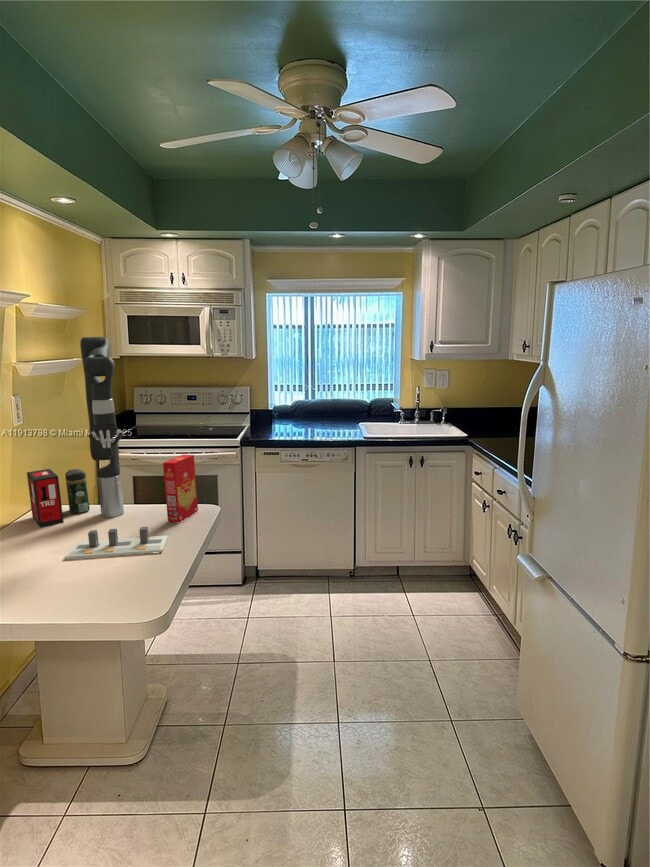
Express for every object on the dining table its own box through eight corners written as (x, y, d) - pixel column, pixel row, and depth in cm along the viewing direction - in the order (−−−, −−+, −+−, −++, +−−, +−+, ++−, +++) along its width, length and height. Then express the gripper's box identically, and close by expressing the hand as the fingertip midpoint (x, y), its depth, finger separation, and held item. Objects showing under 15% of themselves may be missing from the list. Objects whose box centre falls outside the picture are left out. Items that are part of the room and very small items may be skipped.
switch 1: (91, 543, 207) (90, 530, 206) (98, 543, 207) (97, 530, 206) (89, 546, 204) (87, 533, 203) (96, 546, 204) (94, 533, 203)
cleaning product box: (63, 522, 236) (57, 476, 232) (40, 527, 231) (34, 479, 227) (55, 513, 249) (49, 468, 245) (32, 517, 244) (26, 472, 240)
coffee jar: (67, 510, 253) (62, 469, 249) (86, 506, 257) (82, 466, 254) (72, 515, 245) (67, 473, 241) (91, 511, 249) (87, 470, 246)
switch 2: (142, 540, 209) (140, 527, 208) (148, 539, 209) (147, 526, 208) (140, 543, 206) (139, 529, 205) (147, 542, 206) (146, 529, 205)
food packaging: (179, 523, 231) (174, 463, 226) (167, 522, 233) (162, 462, 228) (198, 511, 245) (193, 455, 240) (187, 510, 246) (183, 454, 242)
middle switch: (111, 542, 208) (110, 529, 207) (118, 541, 208) (116, 528, 207) (109, 545, 205) (107, 532, 204) (116, 544, 205) (114, 531, 204)
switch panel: (77, 545, 210) (76, 540, 210) (168, 538, 214) (168, 534, 214) (65, 560, 197) (64, 555, 196) (162, 552, 200) (162, 548, 200)
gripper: (124, 409, 214) (129, 454, 217) (88, 410, 213) (93, 456, 216) (120, 412, 207) (124, 458, 210) (82, 413, 205) (87, 460, 208)
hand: (108, 457), depth 213 cm, fingers closed
